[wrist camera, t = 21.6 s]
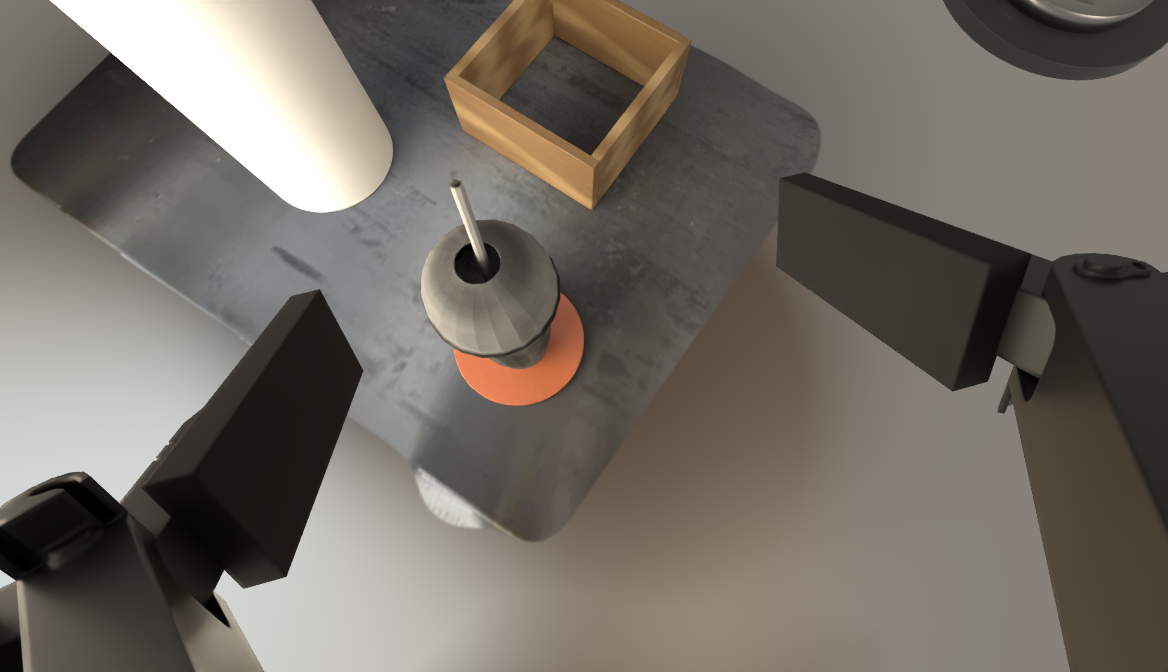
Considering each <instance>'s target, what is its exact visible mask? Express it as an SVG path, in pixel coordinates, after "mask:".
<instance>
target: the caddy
mask: <svg viewBox="0 0 1168 672" xmlns="http://www.w3.org/2000/svg"><path fill="white" fill-rule="evenodd" d="M554 35H555V36H557V37H558V38H560V39H562V40H564V41H565V42H567V43H569V44H571V45H572V46H574V47H576V48H578V49H579V50H581V51H583V52H585V53H586V54H588V55H590V56H592V57H593V58H595V59H597V60H599V61H600V62H602V63H604V64H606V65H607V66H609V67H611V68H613V69H614V70H616V71H618V72H620V73H621V74H623V75H625V76H627V77H628V78H630V79H632V80H634V81H635V82H637V83H639V84H641V85H642V86H644V88H643V89H642V90H641V92H640V93H639V94H638V95H637V97H636V98H635V99H634V101H633V102H632V103H631V105H630V106H629V107H628V108H627V110H626V111H625V112H624V114H623V115H622V116H621V117H620V119H619V120H618V121H617V123H616V124H615V125H614V127H613V128H612V129H611V130H610V132H609V133H608V134H607V136H606V137H605V138H604V140H603V141H602V142H601V143H600V145H599V146H598V147H597V149H596V150H595V151H594V152H593V154H592V155H591V156H590V155H589V154H587V153H586V152H584V151H582V150H581V149H579V148H577V147H576V146H574V145H572V144H571V143H569V142H567V141H566V140H564V139H562V138H561V137H559V136H557V135H556V134H554V133H552V132H551V131H549V130H547V129H546V128H544V127H542V126H541V125H539V124H537V123H536V122H534V121H532V120H531V119H529V118H527V117H526V116H524V115H522V114H521V113H519V112H518V111H516V110H514V109H513V108H511V107H509V106H508V105H506V104H504V103H503V102H501V101H499V100H500V98H501V97H502V96H503V95H504V94H505V93H506V91H507V90H508V89H509V88H510V87H511V86H512V84H513V83H514V82H515V81H516V80H517V79H518V77H519V76H520V75H521V74H522V73H523V71H524V70H525V69H526V68H527V67H528V66H529V64H530V63H531V62H532V61H533V60H534V59H535V57H536V56H537V55H538V54H539V53H540V52H541V50H542V49H543V48H544V47H545V46H546V45H547V43H548V42H549V41H550V40H551V39H552V37H553V36H554ZM691 42H692V40H690V39H688V38H686V37H685V36H683V35H681V34H679V33H677V32H676V31H674V30H672V29H670V28H668V27H666V26H665V25H663V24H661V23H659V22H657V21H655V20H654V19H652V18H650V17H648V16H646V15H644V14H643V13H641V12H639V11H637V10H635V9H634V8H632V7H630V6H628V5H626V4H624V3H623V2H621V1H619V0H513V1H512V3H511V4H510V5H509V6H508V7H507V8H506V9H505V10H504V11H503V13H502V14H501V15H500V16H499V17H498V18H497V19H496V20H495V21H494V23H493V24H492V25H491V26H490V27H489V28H488V29H487V30H486V31H485V33H484V34H483V35H482V36H481V37H480V38H479V39H478V40H477V41H476V43H475V44H474V45H473V46H472V47H471V48H470V49H469V50H468V51H467V53H466V54H465V55H464V56H463V57H462V58H461V59H460V60H459V61H458V63H457V64H456V65H455V66H454V67H453V68H452V69H451V71H449V73H448V74H447V75H446V76H445V77H444V80H445V83H446V85H447V88H448V91H449V94H450V96H451V99H452V102H453V105H454V108H455V110H456V113H457V116H458V119H459V121H460V124H461V127H462V130H463V131H465V132H466V133H468V134H470V135H471V136H473V137H474V138H476V139H478V140H479V141H481V142H482V143H484V144H486V145H487V146H489V147H491V148H492V149H494V150H495V151H497V152H499V153H500V154H502V155H503V156H505V157H507V158H508V159H510V160H511V161H513V162H515V163H516V164H518V165H520V166H521V167H523V168H524V169H526V170H528V171H529V172H531V173H532V174H534V175H536V176H537V177H539V178H540V179H542V180H544V181H545V182H547V183H549V184H550V185H552V186H553V187H555V188H557V189H558V190H560V191H561V192H563V193H565V194H566V195H568V196H570V197H571V198H573V199H574V200H576V201H578V202H579V203H581V204H582V205H584V206H586V207H587V208H589V209H590V210H592V209H593V208H594V207H595V205H596V204H597V203H598V201H599V200H600V199H601V197H602V196H603V195H604V193H605V192H606V191H607V189H608V188H609V187H610V185H611V184H612V183H613V181H614V180H615V179H616V177H617V176H618V175H619V173H620V172H621V171H622V169H623V168H624V167H625V165H626V164H627V163H628V161H629V160H630V159H631V157H632V156H633V155H634V153H635V152H636V151H637V149H638V148H639V147H640V145H641V144H642V143H643V141H644V140H645V139H646V137H647V136H648V135H649V133H650V132H651V131H652V129H653V128H654V126H655V125H656V124H657V122H658V121H659V120H660V118H661V117H662V116H663V114H664V113H665V112H666V110H667V109H668V108H669V106H670V105H671V104H672V102H673V101H674V100H675V98H676V97H677V93H678V90H679V86H680V82H681V79H682V75H683V71H684V68H685V64H686V60H687V57H688V53H689V49H690V46H691Z"/></svg>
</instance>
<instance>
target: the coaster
mask: <svg viewBox="0 0 1168 672" xmlns="http://www.w3.org/2000/svg"><path fill="white" fill-rule="evenodd" d="M560 295H561V298H560V302H559V305H558V309H557V312H556V316H555V318H554V320H553V321H552V323H551V333H550V340H549V344H548V347H547V351H546V353H545V354H544V356H543V357H542V359H541V360H540V361H539V362H537V363H536V364H535V365H534V366H531V367H529V368H526V369H512V368H508V367H505V366H501V365H499V364H498V363H496V362H494V361H492V360H490V359H488V358H480V357H476V356H473V355H469V354H465V353H461V352H460V351H458V350H457V349H455V348H454V353H455V358H456V362H457V365H458V367H459V370H460V372H461V374H462V375H463V377H464V379H465V380H466V381H467V382H468V384H469V385H470V386H471V387H472V388H473V389H474V390H475V391H476V392H478V393H479V394H481V395H482V396H484V397H486V398H487V399H489V400H491V401H494V402H497V403H500V404H504V405H510V406H526V405H531V404H536V403H539V402H542V401H544V400H546V399H548V398H550V397H552V396H553V395H555V394H557V393H558V392H559V391H560V390H562V389H563V388H564V387H565V386H566V385H567V384H568V383H569V381H570V380H571V379H572V377H573V376H574V374H575V373H576V371H577V369H578V367H579V364H580V362H581V359H582V355H583V349H584V332H583V327H582V323H581V320H580V317H579V315H578V313H577V311H576V309H575V308H574V306H573V305H572V303H571V302H570V301H569V300H568V299H567V298H566V296H564V295H563V294H562V293H561V292H560Z"/></svg>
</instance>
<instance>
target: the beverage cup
mask: <svg viewBox="0 0 1168 672" xmlns="http://www.w3.org/2000/svg"><path fill="white" fill-rule="evenodd" d="M449 184H450V188H451V191H452V193H453V196H454V199H455V201H456V204H457V207H458V209H459V212H460V215H461V217H462V220H463V223H464V224H463V225H460V226H457V227H455V228H454V229H453V230H451V231H450V232H448V233H447V234H446V235H444V236H443V237H441V238H440V240H439V241H438V242H437V244H436V245H435V246H434V247H433V249H432V250H431V251H430V253H429V254H428V257H427V260H426V263H425V265H424V268H423V271H422V287H421V295H422V299H423V302H424V305H425V308H426V311H427V314H428V317H429V320H430V323H431V325H432V327H433V328H434V329H435V330H436V332H437V333H438V334H439V336H440V337H441V338H442V339H443V341H444V342H446V343H447V344H449V345H451V346H452V347H454V348H455V349H457V350H458V351H460V352H461V353H465V354H469V355H473V356H476V357H480V358H488V359H490V360H492V361H494V362H496V363H498V364H499V365H501V366H505V367H508V368H512V369H526V368H529V367H531V366H534V365H535V364H536V363H537V362H539V361H540V360H541V359H542V357H543V356H544V354H545V353H546V351H547V347H548V344H549V340H550V333H551V323H552V321H553V320H554V318H555V316H556V312H557V309H558V305H559V302H560V298H561V295H560V277H559V275H558V272H557V270H556V267H555V265H554V263H553V260H552V258H551V257H550V256H549V255H548V253H547V252H546V251H545V250H544V249H543V248H542V246H541V245H540V244H539V243H538V242H537V241H536V239H535V238H534V237H533V236H532V235H530V234H529V233H527V232H525V231H524V230H522V229H520V228H519V227H517V226H515V225H513V224H510V223H506V222H502V221H498V220H477V221H475V218H474V215H473V212H472V209H471V206H470V203H469V200H468V197H467V194H466V191H465V188H464V185H463V182H462V180H461V179H459V178H453V179H451V181H450V182H449Z"/></svg>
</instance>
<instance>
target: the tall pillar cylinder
mask: <svg viewBox="0 0 1168 672" xmlns="http://www.w3.org/2000/svg"><path fill="white" fill-rule="evenodd" d="M50 1H52V2H53V3H54V4H55V5H56V6H58V7H59V8H60V9H61V10H62V11H63V12H65V13H66V14H67V15H68V16H69V17H70V18H72V19H73V20H74V21H75V22H76V23H78V24H79V25H80V26H81V27H82V28H83V29H84V30H86V31H87V32H88V33H89V34H90V35H91V36H93V37H94V38H95V39H96V40H97V41H99V42H100V43H101V44H102V45H103V46H104V47H106V48H107V49H108V50H109V51H110V52H111V53H113V54H114V55H115V56H116V57H117V58H118V59H120V60H121V61H122V62H123V63H124V64H125V65H127V66H128V67H129V68H130V69H131V70H133V71H134V72H135V73H136V74H137V75H138V76H140V77H141V78H142V79H143V80H144V81H145V82H147V83H148V84H149V85H150V86H151V87H152V88H154V89H155V90H156V91H157V92H158V93H159V94H161V95H162V96H163V97H164V98H165V99H167V100H168V101H169V102H170V103H171V104H172V105H174V106H175V107H176V108H177V109H178V110H179V111H181V112H182V113H183V114H184V115H185V116H186V117H188V118H189V119H190V120H191V121H192V122H193V123H195V124H196V125H197V126H198V127H199V128H201V129H202V130H203V131H204V132H205V133H206V134H208V135H209V136H210V137H211V138H212V139H213V140H215V141H216V142H217V143H218V144H219V145H220V146H222V147H223V148H224V149H225V150H226V151H227V152H229V153H230V154H231V155H232V156H233V157H235V158H236V159H237V160H238V161H239V162H240V163H242V164H243V165H244V166H245V167H246V168H247V169H249V170H250V171H251V172H252V173H253V174H254V175H256V176H257V177H258V178H259V179H260V180H262V181H263V182H264V183H265V184H266V185H267V186H269V187H270V188H271V189H272V190H273V191H274V192H276V193H277V194H278V195H279V196H280V197H281V198H283V199H284V200H285V201H287V202H288V203H290V204H292V205H293V206H295V207H298V208H300V209H304V210H307V211H313V212H332V211H338V210H342V209H345V208H348V207H351V206H353V205H355V204H357V203H359V202H361V201H363V200H364V199H366V198H367V197H368V196H370V195H371V194H372V193H373V192H374V191H375V190H376V189H377V188H378V187H379V186H380V185H381V183H382V182H383V180H384V179H385V177H386V175H387V173H388V171H389V169H390V166H391V163H392V157H393V144H392V139H391V136H390V133H389V131H388V129H387V127H386V125H385V124H384V122H383V120H382V119H381V117H380V115H379V113H378V112H377V110H376V108H375V107H374V105H373V103H372V102H371V100H370V98H369V97H368V95H367V93H366V92H365V90H364V88H363V87H362V85H361V83H360V82H359V80H358V78H357V76H356V75H355V73H354V71H353V70H352V68H351V66H350V65H349V63H348V61H347V60H346V58H345V56H344V55H343V53H342V51H341V50H340V48H339V46H338V45H337V43H336V41H335V39H334V38H333V36H332V34H331V33H330V31H329V29H328V28H327V26H326V24H325V23H324V21H323V19H322V18H321V16H320V14H319V13H318V11H317V9H316V8H315V6H314V4H313V3H312V1H311V0H50Z"/></svg>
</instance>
